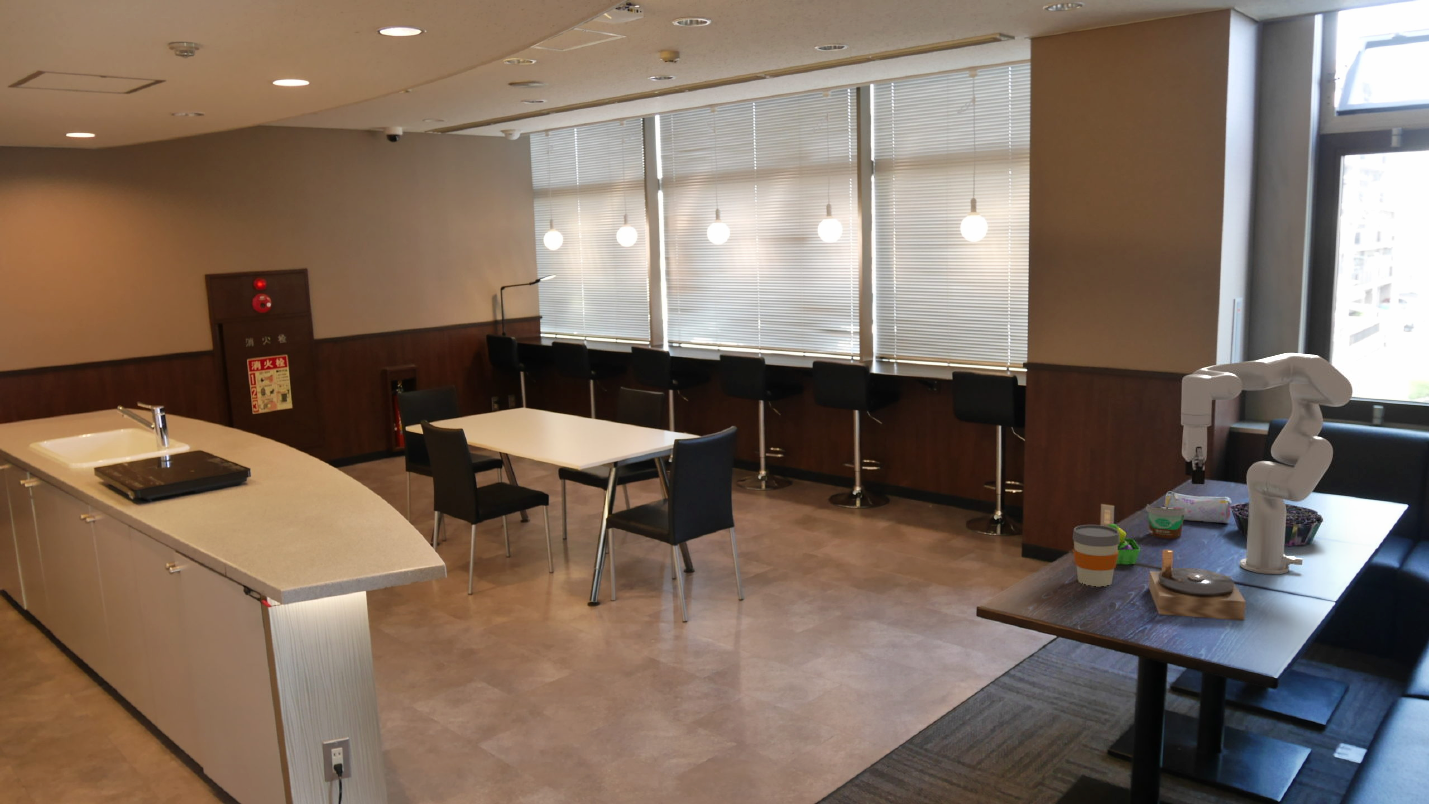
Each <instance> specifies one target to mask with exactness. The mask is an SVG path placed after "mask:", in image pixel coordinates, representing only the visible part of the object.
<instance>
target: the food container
mask: <svg viewBox="0 0 1429 804" xmlns="http://www.w3.org/2000/svg"><path fill="white" fill-rule="evenodd" d="M1145 507H1146V508H1145V511H1146V512H1147V517H1148V520H1147V521H1148V531H1149V532H1148V533H1149V535H1150V536H1152V537H1154V538H1157V537H1158V538H1157V539H1161V540H1162V539H1163V540H1175V539H1180V538H1181V537H1182V531H1183V524H1184V521H1185V520H1184V515H1185V514H1187V510H1186V508H1182V509H1178V508H1171V507H1163V506H1152V505H1149V504H1148V503H1147V504H1146V506H1145Z"/></svg>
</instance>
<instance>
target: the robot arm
mask: <svg viewBox="0 0 1429 804" xmlns="http://www.w3.org/2000/svg"><path fill="white" fill-rule="evenodd" d="M1288 384H1289V386H1288V387H1289V394H1290V398H1291V403H1292V404H1291V405H1292V410H1291V411H1292V412H1291V414H1290V417H1289V418H1288V420H1287V422H1286V424H1285V425H1284V427H1283V428H1282V429H1281V431H1280V433H1279V434H1278V435H1277V437H1276V438H1275V440H1274V442H1273V443H1272V445H1271V448H1270V453H1271V454H1270V455H1271V456H1272V458H1273V459H1275V462H1273V461H1269V460H1268V461H1267V460H1261V461H1256V462H1254V463H1252V465H1251V466H1250V467H1248V470H1247V471H1246V472H1247V473H1246V485H1247V490H1248V503H1249V516H1248V534H1247V537H1246V540H1247V541H1246V554H1245V556H1246V557H1245V558H1242V559H1240V561H1239V566H1240V567H1241V568H1242V569H1245V570H1246V571H1250V572H1253V573H1258V574H1265V575H1280V574H1281V575H1282V574H1286V573H1288V572H1289V571H1290V565H1296V566H1302V565H1303V558H1301V557H1300V558H1299V557H1296V556H1291V555H1290V556H1287V555H1286V554H1285V546H1284V543H1285V527H1286V506H1285V504H1286V503H1285V501H1290V502H1294V503H1295V502H1297V503H1298V502H1302V501H1304V500H1305V499H1307V498H1308V497H1309V496H1310V495H1311V494H1312V493H1313V491H1314V489H1315V488H1316V486H1317V485H1318V484H1319V482H1320V481H1321V479H1322V478H1323V476H1324V475H1325V473H1326V472H1327V471H1328V469H1329V467H1330V465H1331V463H1332V460H1333V455H1334V449H1333V446H1332V444H1331V443H1330V441H1329V440H1327V439H1325V438H1324V437H1321V436H1318V435H1319V434H1320V432H1321V430H1322V428H1323V426H1324V418H1323V413H1322V410H1321V408H1320V406H1327V407H1333V408H1334V407H1336V408H1337V407H1343V406H1344V405H1346V404H1348V403H1349V401H1350V400H1351V399H1352V396H1353V391H1354V390H1353V386H1352V384H1351V381H1350V380H1349V379H1348V378H1347V377H1346V376H1345V375H1344V374H1342V372H1340V371H1339V370H1338V369H1337V368H1336V367H1335V366H1334V365H1333V364H1331V363H1330V362H1329V361H1328V360H1326V359H1325V358H1323V357H1321V356H1320V355H1315V354H1305V353H1295V352H1287V353H1281V354H1277V355H1274V356H1269V357H1265V358H1261V359H1257V360H1249V361H1248V360H1247V361H1240V362H1233V363H1232V362H1230V363H1223V364H1222V363H1221V364H1215V365H1211V366H1206V367H1203V368H1199V369H1197V370H1196V371H1194V372H1193V373H1191V374H1187V375H1185V376H1183V377H1182V380H1181V405H1180V406H1181V407H1180V408H1181V409H1180V410H1181V411H1180V420H1181V421H1180V424H1181V426H1183V430H1182V431H1183V432H1182V440H1181V441H1182V443H1181V445H1182V446H1181V456H1182V457H1183V458H1184V459H1185V467H1184V468H1185V469H1184V474H1185V476H1191V481H1190V482H1191V484H1192V485H1205V483H1206V482H1205V480H1206V479H1205V476H1206V475H1205V474H1206V469H1205V468H1206V467H1205V462H1206V461H1207V457H1208V456H1207V455H1208V453H1207V452H1208V427H1210V426H1212V409H1213V408H1212V407H1213V406H1212V405H1213V404H1212V402H1213V400H1215V401H1230V400H1233V399H1235V398H1237V397H1238V396H1239V395H1240V394H1241V393H1242V391H1263V390H1267V389H1272V388H1276V387H1278V386H1283V385H1288ZM1276 461H1277V462H1276ZM1278 462H1279V463H1278Z"/></svg>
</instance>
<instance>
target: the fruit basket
mask: <svg viewBox="0 0 1429 804" xmlns="http://www.w3.org/2000/svg"><path fill="white" fill-rule="evenodd" d="M1107 527H1111V528H1114V529H1116V530H1118V531H1119V538H1120V543H1119V544H1118V548H1117V550H1118V557H1117V563H1116V565H1132V564H1136V562H1137V559H1138V555H1139V553H1140V552H1141V548H1140V547H1139V546H1138V544H1137V542H1136V540H1134V539H1133V538H1126V537H1127V533H1126V532H1125V530H1123V529H1122V528H1120V527H1119V526H1118V525H1117V524H1115V523H1111V524H1110V523H1109V524H1107Z"/></svg>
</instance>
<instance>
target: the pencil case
mask: <svg viewBox="0 0 1429 804" xmlns="http://www.w3.org/2000/svg"><path fill="white" fill-rule="evenodd" d="M1164 498H1165V499H1164V500H1165V501H1164V504H1162V507H1171V508H1178V509H1182V508H1186V510H1187V514H1185V515H1184V520H1183V521H1191V522H1192V521H1193V522H1201V521H1203V522H1204V523H1220V524H1228V523H1229V522H1230V517H1231V513H1232V510H1231V508H1230V506H1232V500H1231V498H1230V497H1228V496H1197V495H1195V496H1194V495H1190V494H1189V495H1187V494H1182V493H1176V492H1175V491H1170V490H1169V491H1167V493H1166V495H1165V496H1164Z"/></svg>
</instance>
